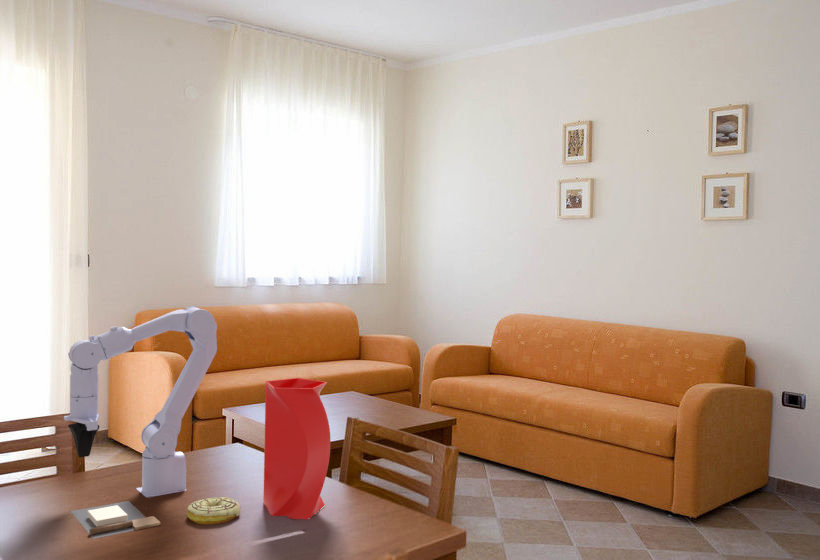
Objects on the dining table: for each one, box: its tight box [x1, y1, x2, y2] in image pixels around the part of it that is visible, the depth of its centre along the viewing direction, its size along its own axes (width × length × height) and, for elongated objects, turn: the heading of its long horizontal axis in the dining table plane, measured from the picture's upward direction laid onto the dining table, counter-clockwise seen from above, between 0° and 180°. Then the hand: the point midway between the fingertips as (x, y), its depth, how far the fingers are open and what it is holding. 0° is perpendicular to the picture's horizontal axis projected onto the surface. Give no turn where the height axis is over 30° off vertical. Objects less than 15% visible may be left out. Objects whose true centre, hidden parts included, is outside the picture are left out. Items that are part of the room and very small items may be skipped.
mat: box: [70, 500, 155, 540], centre depth 153 cm, size 12×18×1 cm, turn 38°
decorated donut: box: [186, 496, 241, 526], centre depth 156 cm, size 10×11×4 cm
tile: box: [88, 505, 128, 527], centre depth 152 cm, size 6×2×7 cm
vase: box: [262, 377, 331, 520], centre depth 162 cm, size 15×14×28 cm
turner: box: [88, 515, 161, 536], centre depth 148 cm, size 13×4×1 cm, turn 128°
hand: (83, 456), depth 163 cm, fingers closed
